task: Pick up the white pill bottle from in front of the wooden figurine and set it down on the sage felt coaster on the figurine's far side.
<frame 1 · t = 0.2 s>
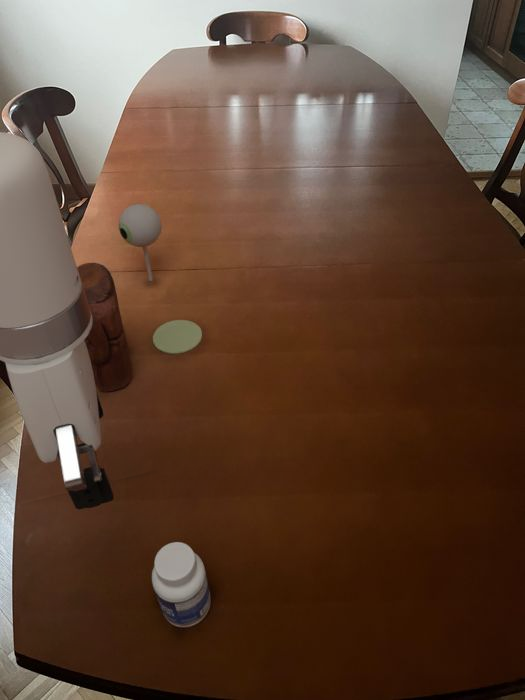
hand: (91, 458, 54), 20 cm above the table, tool pointing down, fingers open, 9 cm apart
pill bottle: (186, 604, 64), on the table
lollipop: (151, 281, 108), on the table
wooden figurine: (113, 367, 91), on the table
coaster: (177, 337, 96), on the table
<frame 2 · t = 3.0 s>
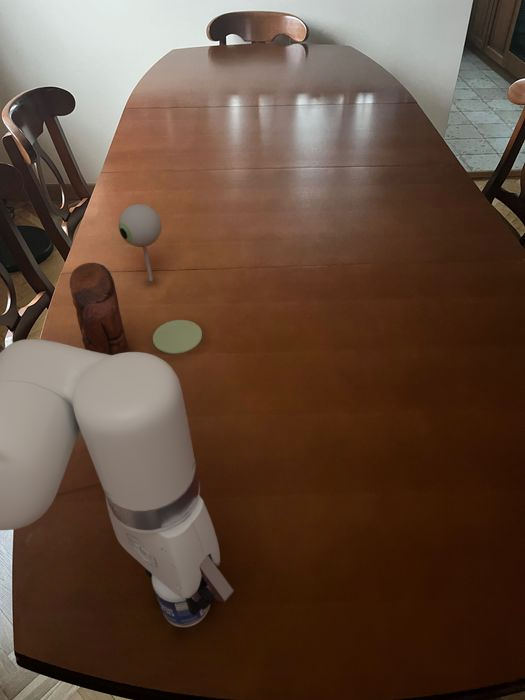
hand: (180, 583, 61), 5 cm above the table, tool pointing down, fingers closed on pill bottle, 5 cm apart
pill bottle: (186, 604, 64), on the table, touching gripper
everything else where it was.
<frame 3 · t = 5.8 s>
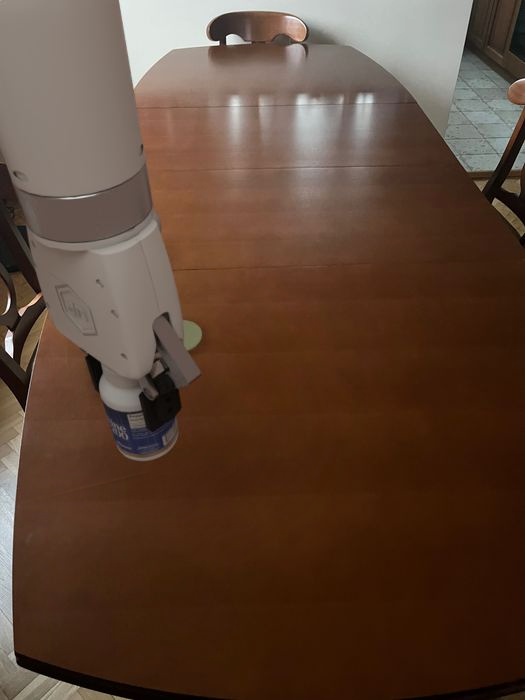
hand: (138, 399, 47), 29 cm above the table, tool pointing down, fingers closed on pill bottle, 5 cm apart
pill bottle: (148, 439, 51), point 24 cm above the table, touching gripper
everything else where it was.
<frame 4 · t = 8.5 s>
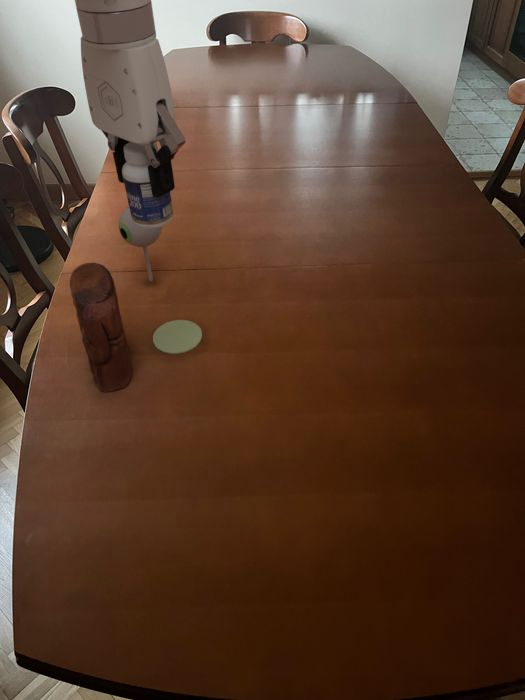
hand: (146, 184, 73), 29 cm above the table, tool pointing down, fingers closed on pill bottle, 5 cm apart
pill bottle: (153, 220, 76), point 24 cm above the table, touching gripper
everything else where it was.
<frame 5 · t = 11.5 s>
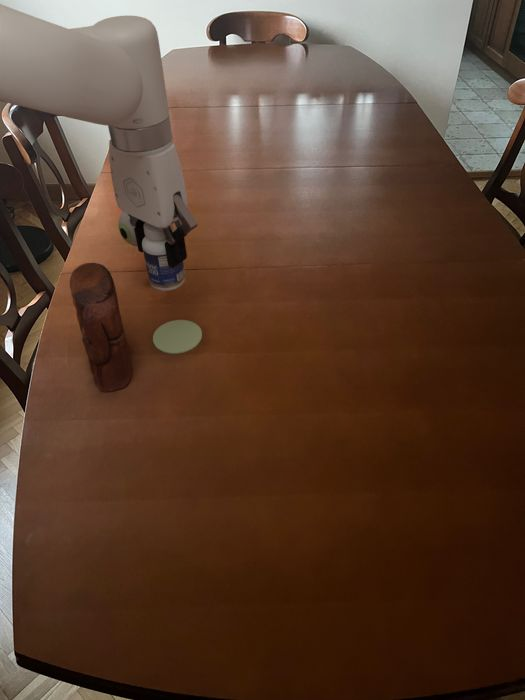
hand: (162, 254, 85), 16 cm above the table, tool pointing down, fingers closed on pill bottle, 5 cm apart
pill bottle: (167, 282, 88), point 11 cm above the table, touching gripper
everything else where it was.
when the fingers open (5 cm above the table, at t = 14.3 s): pill bottle stays where it is, resting on coaster.
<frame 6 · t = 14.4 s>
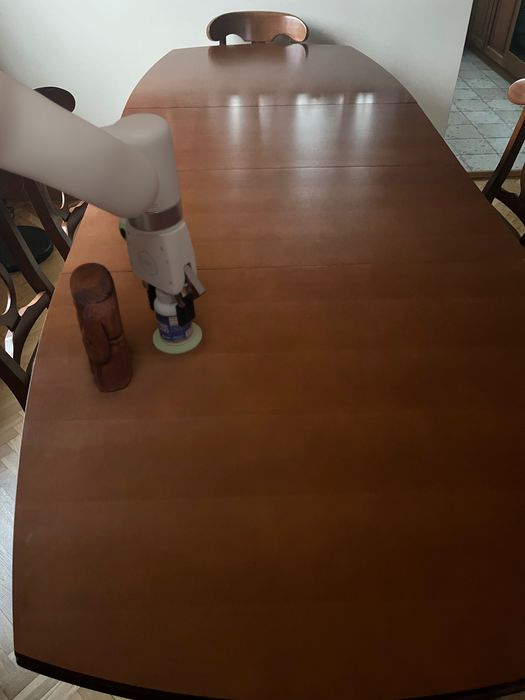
hand: (172, 312, 92), 5 cm above the table, tool pointing down, fingers open, 5 cm apart
pill bottle: (177, 336, 96), resting on coaster
everything else where it was.
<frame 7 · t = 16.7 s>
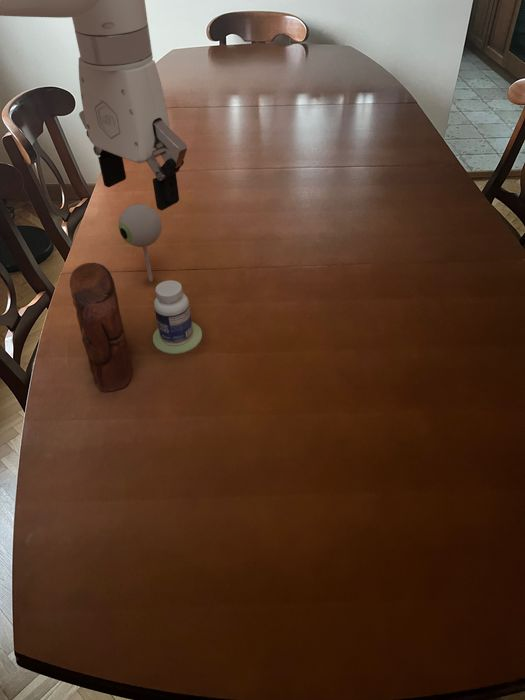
hand: (141, 193, 74), 28 cm above the table, tool pointing down, fingers open, 9 cm apart
nothing on the table moved.
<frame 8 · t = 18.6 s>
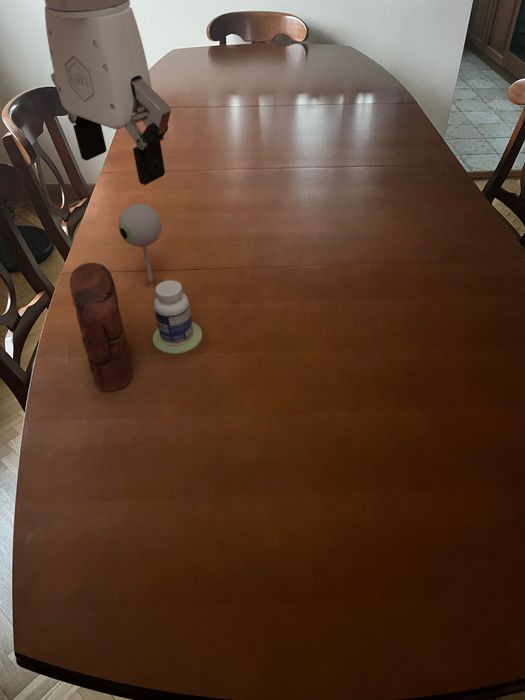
hand: (122, 167, 65), 34 cm above the table, tool pointing down, fingers open, 9 cm apart
nothing on the table moved.
at the end: pill bottle inside the target area on the table beside the wooden figurine (0.1 cm from its centre), resting on coaster; pill bottle tilted 0°; the gripper is holding nothing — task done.
